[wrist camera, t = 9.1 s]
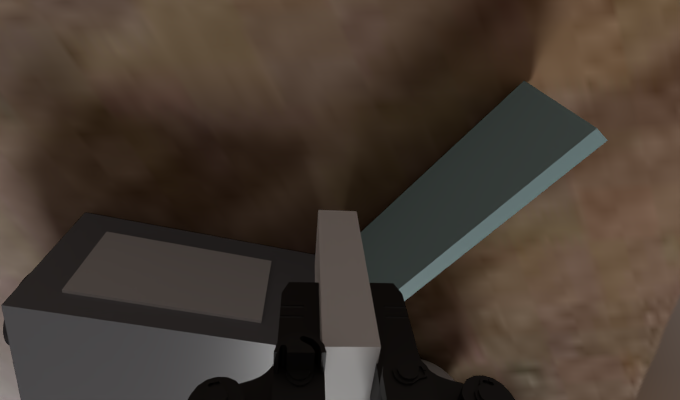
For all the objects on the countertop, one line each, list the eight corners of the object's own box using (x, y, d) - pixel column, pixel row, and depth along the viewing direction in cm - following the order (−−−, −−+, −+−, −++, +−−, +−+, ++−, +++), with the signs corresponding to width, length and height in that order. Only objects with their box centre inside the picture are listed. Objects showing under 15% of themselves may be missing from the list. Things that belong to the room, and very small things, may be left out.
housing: (71, 327, 31) (-8, 446, 24) (60, 205, 26) (-47, 309, 18) (298, 359, 34) (291, 475, 27) (331, 255, 29) (334, 364, 21)
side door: (522, 78, 22) (594, 125, 16) (543, 101, 23) (620, 155, 17) (333, 254, 28) (335, 336, 22) (354, 268, 29) (363, 352, 23)
